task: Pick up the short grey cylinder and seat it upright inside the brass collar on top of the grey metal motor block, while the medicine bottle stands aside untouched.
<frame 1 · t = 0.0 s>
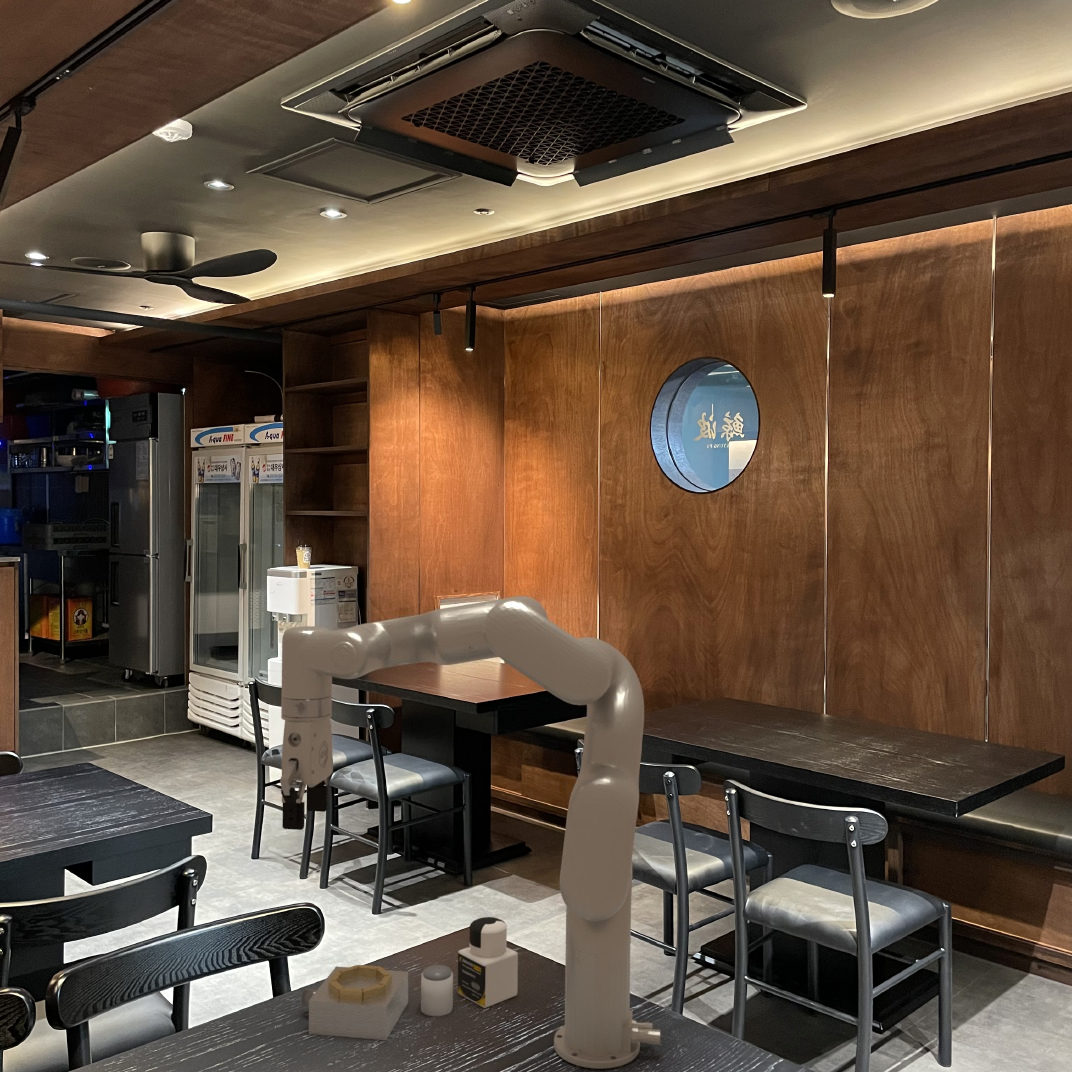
hand: (305, 819, 154), 31 cm above the table, tool pointing down, fingers open, 9 cm apart
medicine bottle: (487, 995, 164), on the table
short grey cylinder: (436, 1008, 159), on the table
motor block: (359, 1017, 156), on the table
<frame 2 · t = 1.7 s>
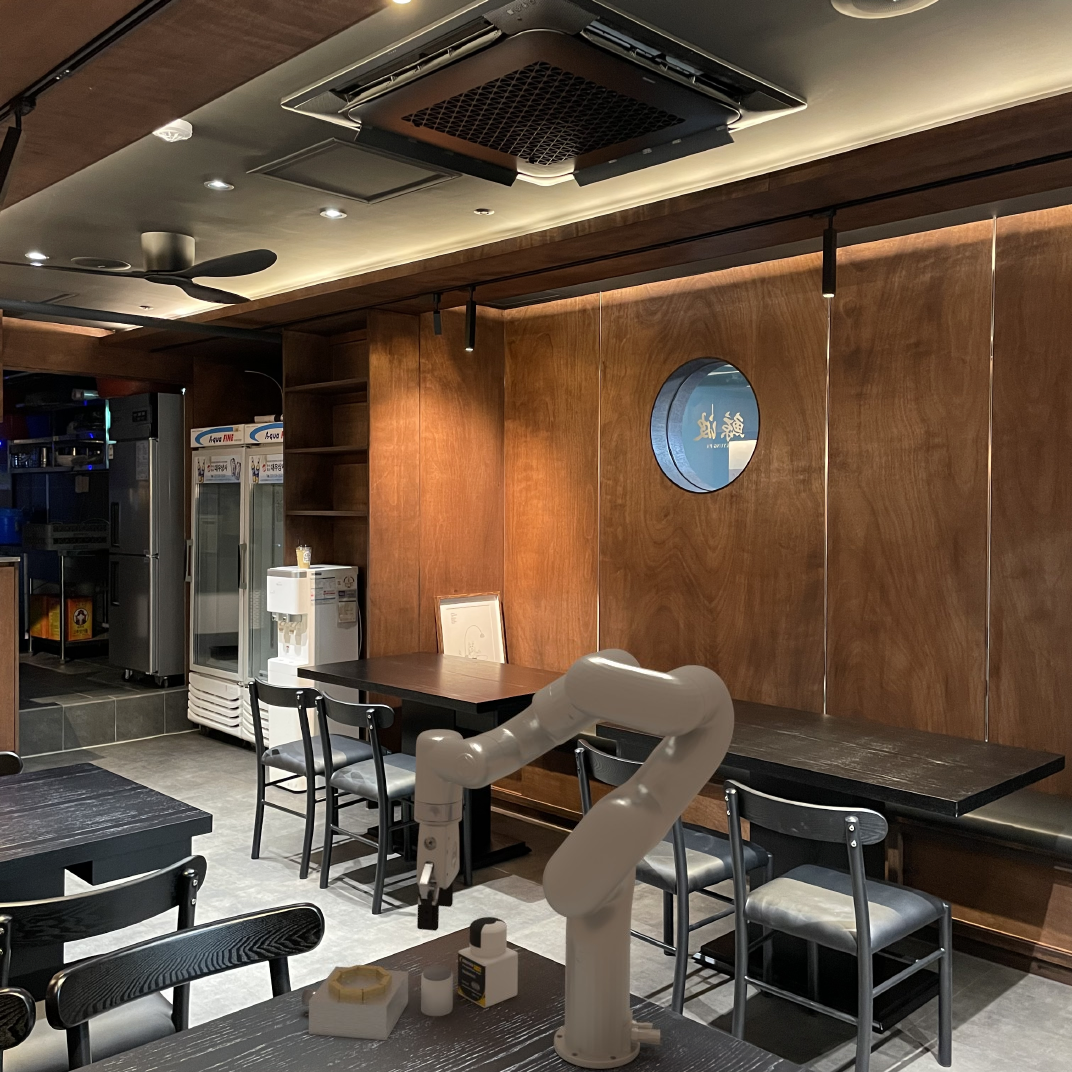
hand: (435, 917, 159), 14 cm above the table, tool pointing down, fingers open, 9 cm apart
nothing on the table moved.
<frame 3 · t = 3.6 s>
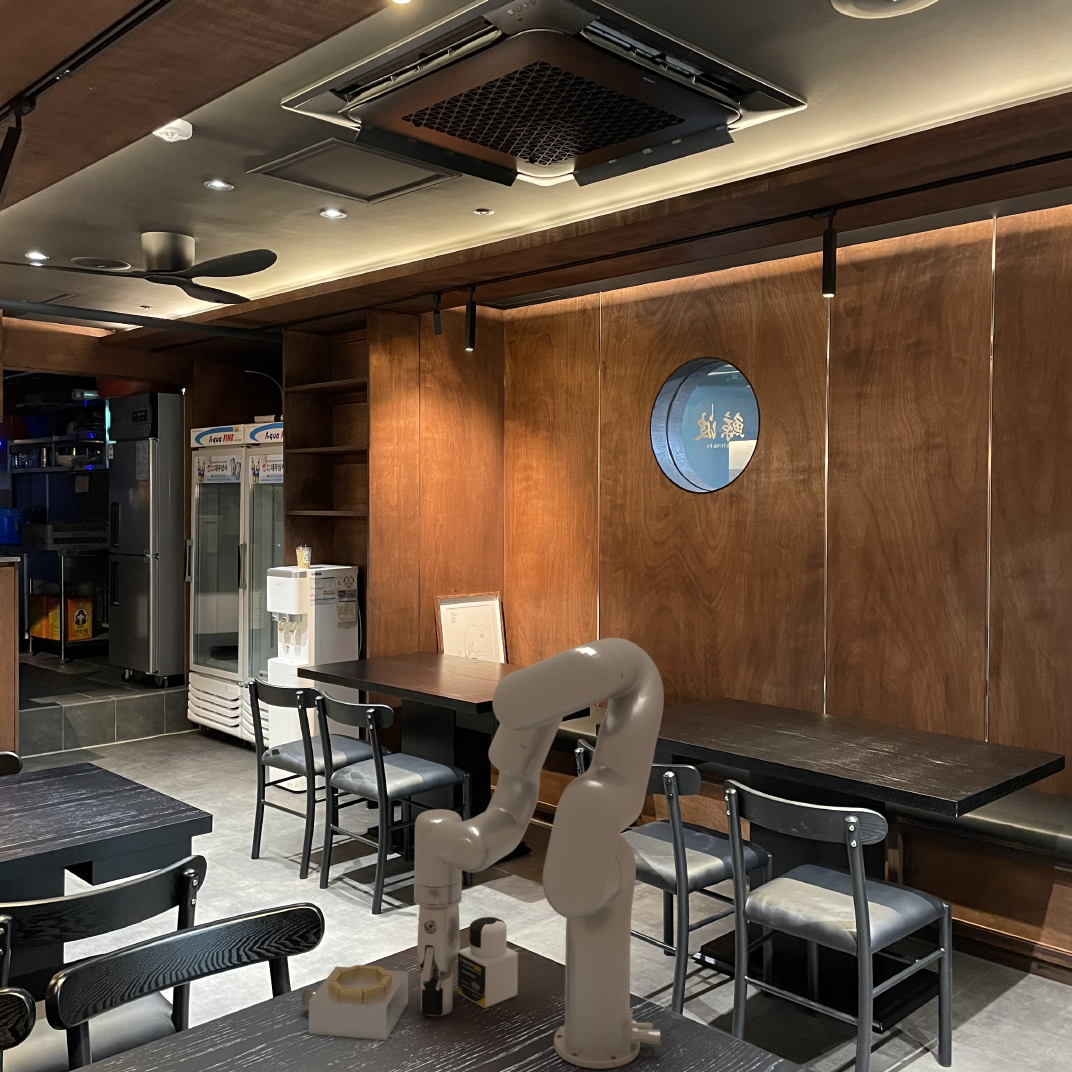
hand: (436, 1004, 159), 1 cm above the table, tool pointing down, fingers closed on short grey cylinder, 5 cm apart
short grey cylinder: (436, 1008, 159), on the table, touching gripper
everything else where it was.
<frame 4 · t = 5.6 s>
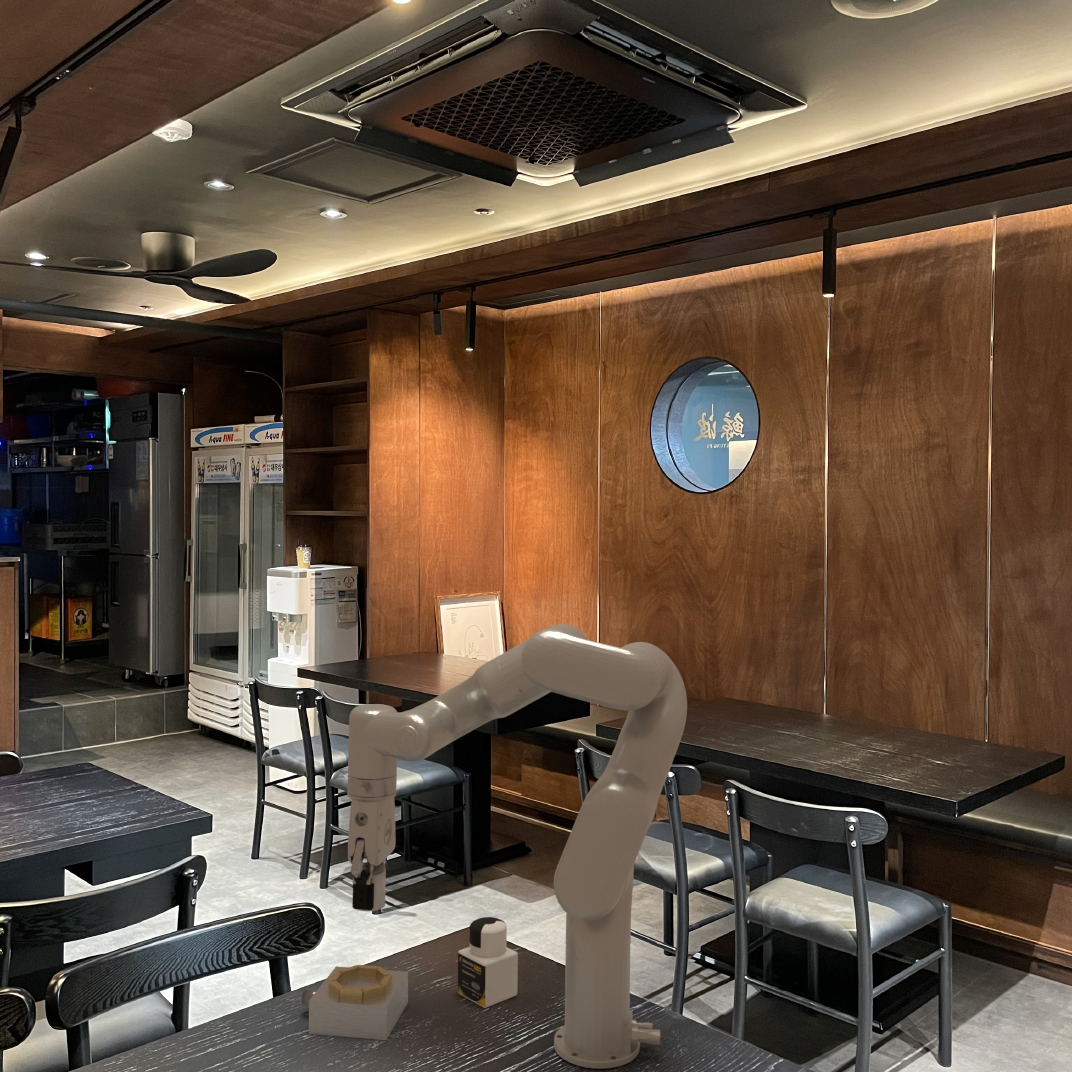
hand: (369, 900, 156), 18 cm above the table, tool pointing down, fingers closed on short grey cylinder, 5 cm apart
short grey cylinder: (368, 905, 156), point 17 cm above the table, touching gripper
everything else where it was.
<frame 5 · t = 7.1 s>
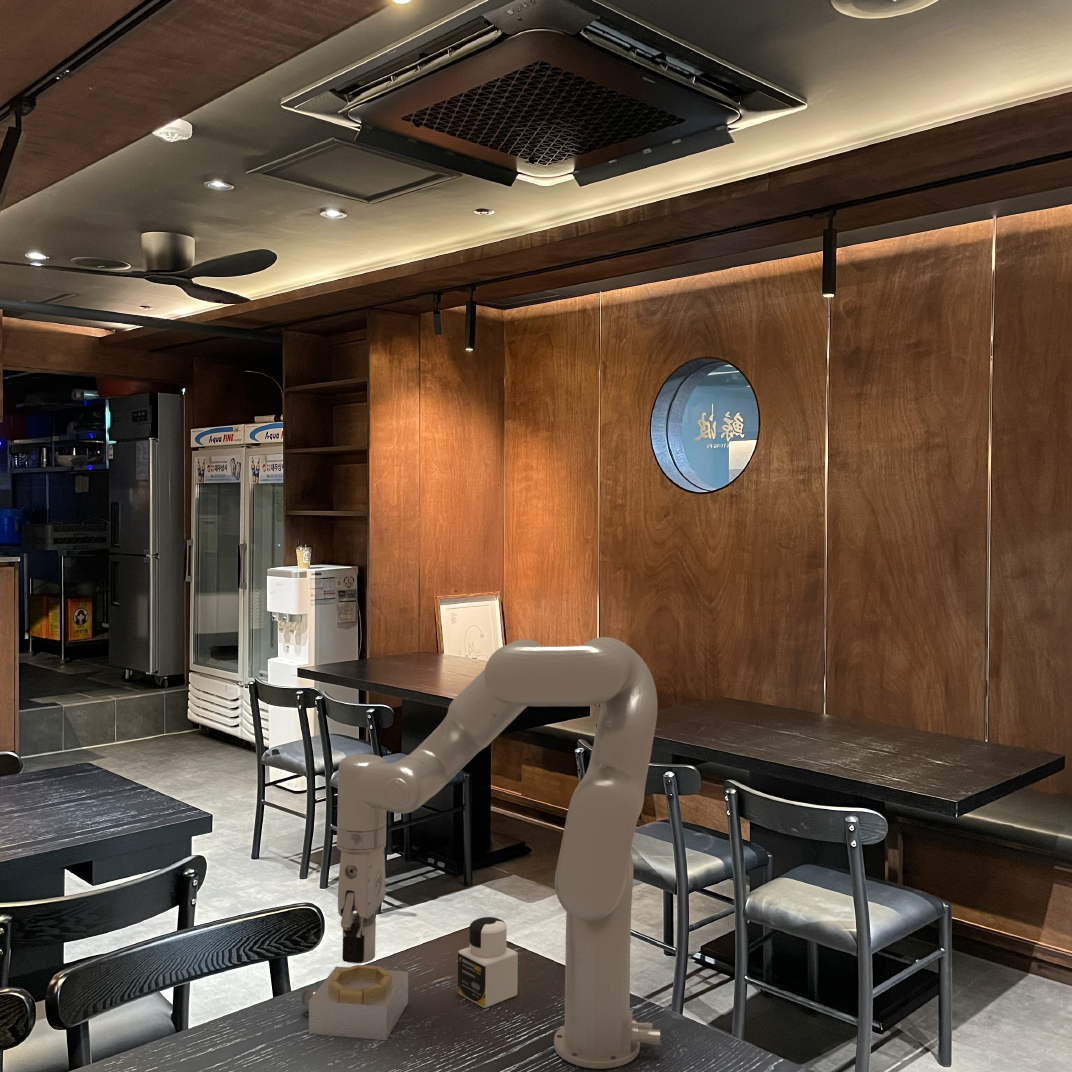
hand: (359, 952, 156), 10 cm above the table, tool pointing down, fingers closed on short grey cylinder, 5 cm apart
short grey cylinder: (358, 956, 156), point 9 cm above the table, touching gripper
everything else where it was.
when the fingers open (7 cm above the table, at t = 8.1 s): short grey cylinder drops 1 cm, resting on motor block.
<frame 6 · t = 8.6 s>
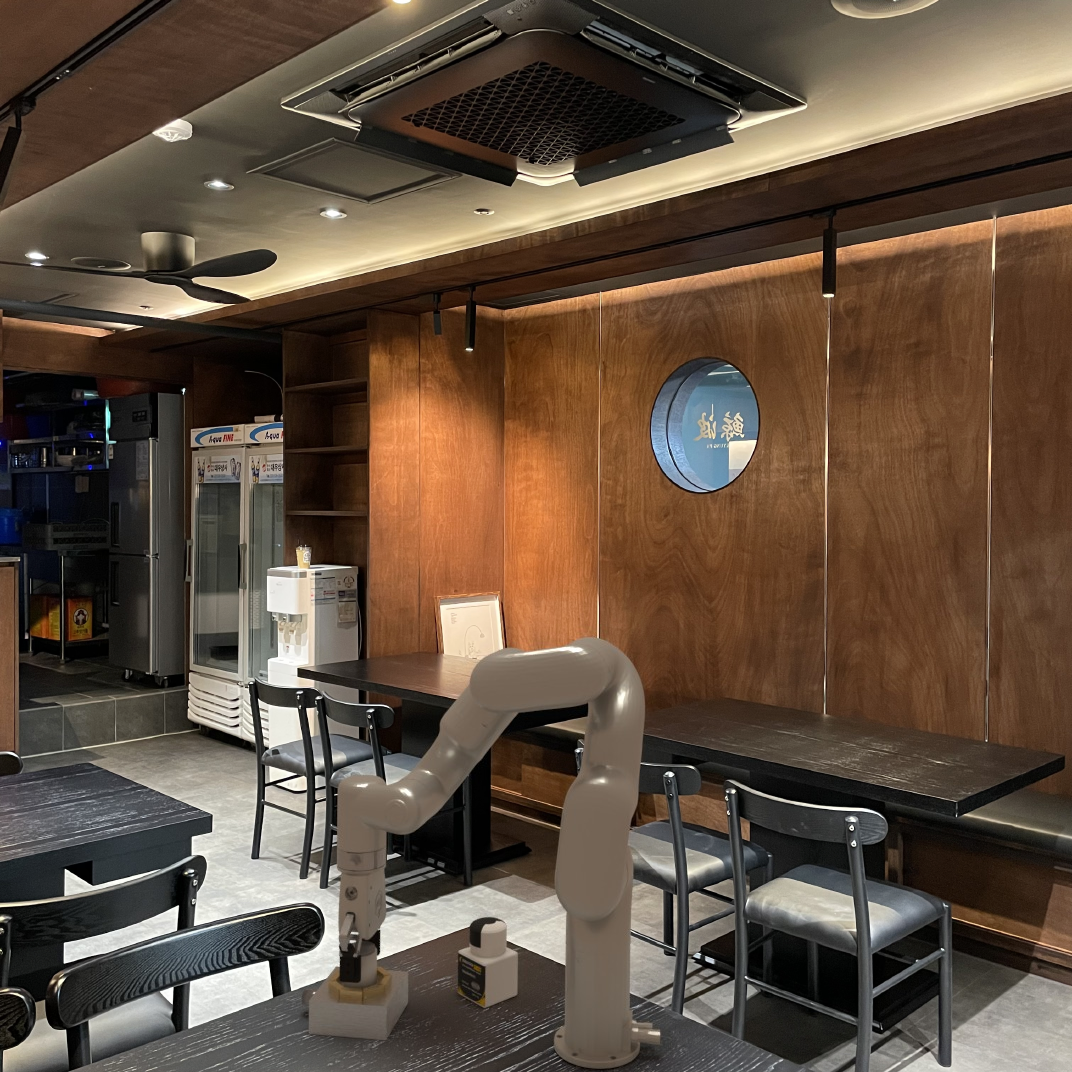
hand: (360, 967, 156), 8 cm above the table, tool pointing down, fingers open, 9 cm apart
short grey cylinder: (360, 985, 156), point 5 cm above the table, touching motor block
everything else where it was.
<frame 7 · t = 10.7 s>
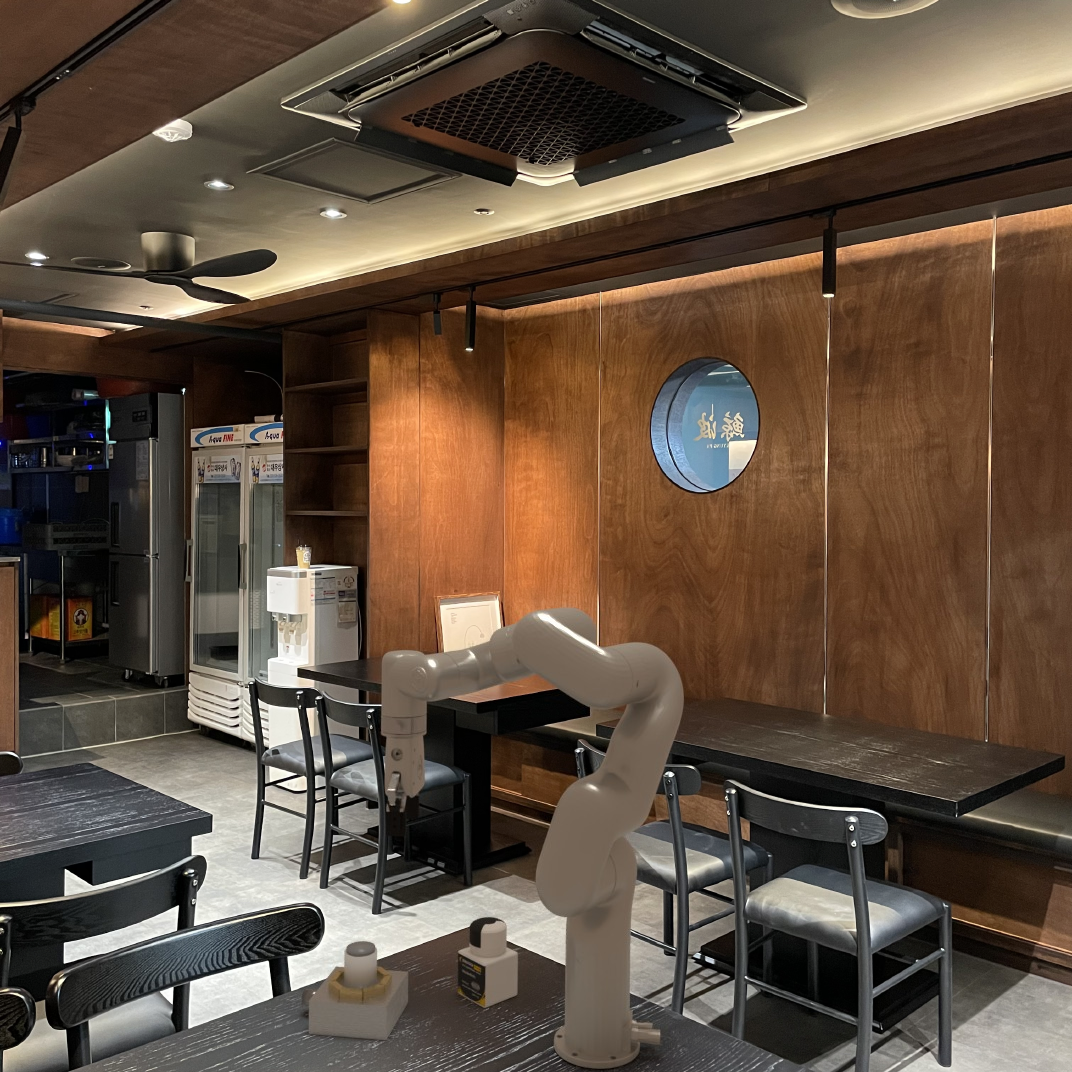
hand: (403, 826, 168), 26 cm above the table, tool pointing down, fingers open, 9 cm apart
nothing on the table moved.
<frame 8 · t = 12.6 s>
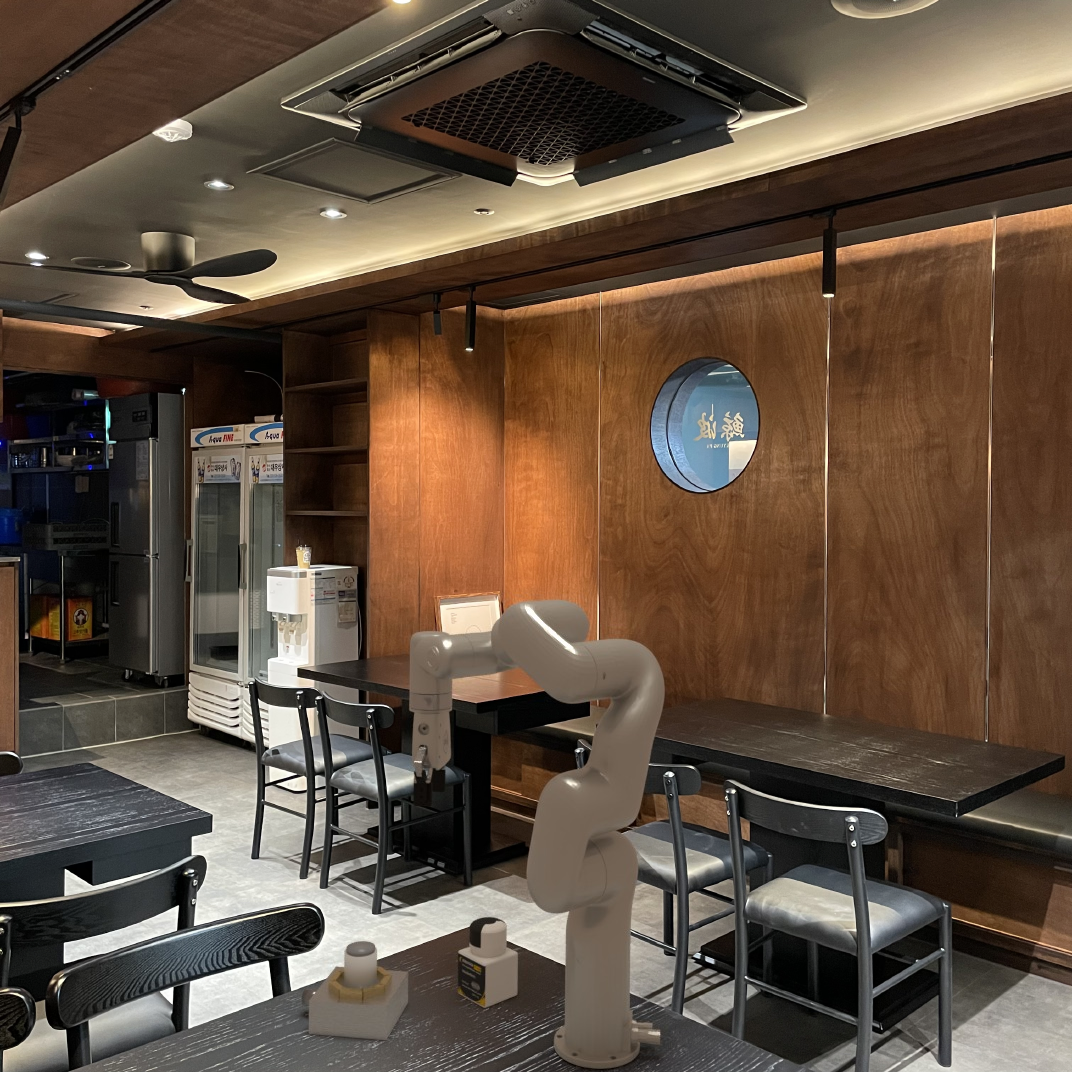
hand: (429, 798, 178), 28 cm above the table, tool pointing down, fingers open, 9 cm apart
nothing on the table moved.
at the end: short grey cylinder 0.0 cm off-centre on the motor block, point 5.0 cm above the motor block's base; short grey cylinder tilted 0°; the gripper is holding nothing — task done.
